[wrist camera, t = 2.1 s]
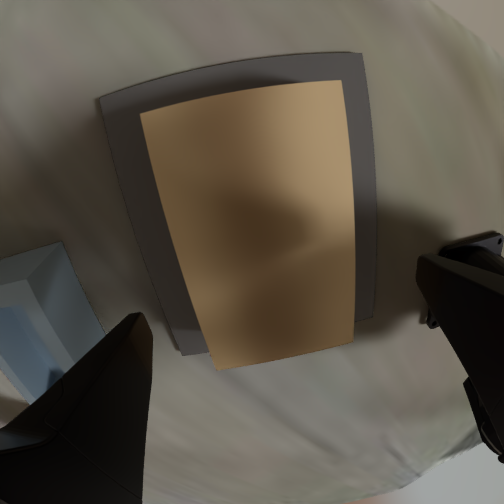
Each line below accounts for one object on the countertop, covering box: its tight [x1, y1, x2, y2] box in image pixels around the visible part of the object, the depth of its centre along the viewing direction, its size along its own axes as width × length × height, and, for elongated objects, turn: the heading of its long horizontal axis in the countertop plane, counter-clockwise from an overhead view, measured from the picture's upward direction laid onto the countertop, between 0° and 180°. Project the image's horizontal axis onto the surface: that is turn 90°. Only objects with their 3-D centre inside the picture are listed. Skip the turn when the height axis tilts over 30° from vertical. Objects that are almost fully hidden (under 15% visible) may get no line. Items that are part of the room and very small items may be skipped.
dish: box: [0, 241, 106, 405], centre depth 15 cm, size 7×10×4 cm, turn 10°
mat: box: [99, 53, 377, 356], centre depth 15 cm, size 12×15×1 cm
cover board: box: [140, 80, 355, 370], centre depth 13 cm, size 7×12×3 cm, turn 10°
